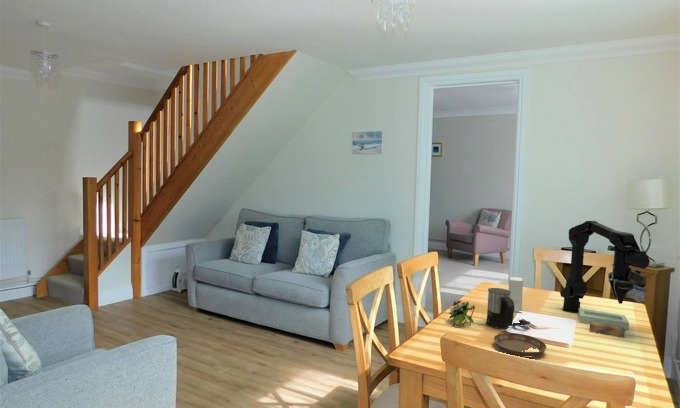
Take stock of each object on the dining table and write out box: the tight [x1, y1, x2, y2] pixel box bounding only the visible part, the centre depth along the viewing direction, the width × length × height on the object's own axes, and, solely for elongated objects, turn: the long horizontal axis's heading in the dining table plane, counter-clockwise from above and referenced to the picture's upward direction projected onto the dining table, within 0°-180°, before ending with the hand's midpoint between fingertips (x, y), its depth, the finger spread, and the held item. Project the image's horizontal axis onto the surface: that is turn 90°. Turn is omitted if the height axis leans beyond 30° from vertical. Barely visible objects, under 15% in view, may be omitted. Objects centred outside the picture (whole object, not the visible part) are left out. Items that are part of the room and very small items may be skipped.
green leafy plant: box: [448, 300, 476, 327], centre depth 186 cm, size 11×11×12 cm
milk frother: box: [485, 287, 531, 330], centre depth 185 cm, size 14×16×15 cm
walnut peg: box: [588, 322, 626, 339], centre depth 182 cm, size 12×4×4 cm, turn 63°
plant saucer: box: [493, 332, 547, 358], centre depth 162 cm, size 18×18×3 cm
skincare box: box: [508, 276, 524, 313], centre depth 209 cm, size 8×6×15 cm
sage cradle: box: [577, 307, 630, 331], centre depth 197 cm, size 18×12×3 cm, turn 65°
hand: (618, 300), depth 185 cm, fingers open, 9 cm apart
